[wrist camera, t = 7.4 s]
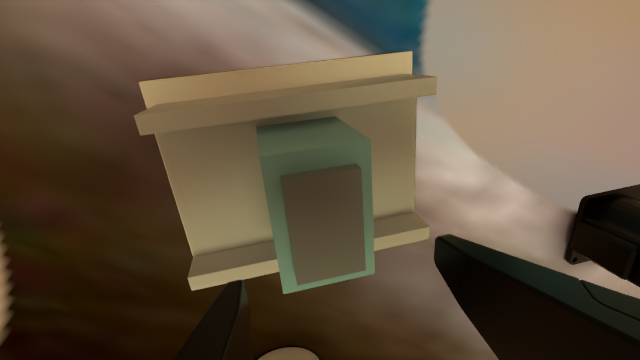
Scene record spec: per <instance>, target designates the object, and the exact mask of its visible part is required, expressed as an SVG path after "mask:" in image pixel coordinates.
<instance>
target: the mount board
mask: <svg viewBox="0 0 640 360" xmlns="http://www.w3.org/2000/svg"><path fill="white" fill-rule="evenodd" d="M436 80H437V77H434V76H424V75H414V74H412V51H407V52H396V53H387V54H379V55H370V56H361V57H352V58H343V59H334V60H325V61H316V62H308V63H299V64H290V65H281V66H272V67H263V68H254V69H245V70H237V71H228V72H219V73H210V74H201V75H192V76H183V77H174V78H166V79H157V80H148V81H142V82H139V86H140V89H141V92H142V95H143V98H144V102H145V105H146V108H147V109H146V110H144V111H142V112H140V113H138V114H136V115H134V118H135V121H136V124H137V127H138V130H139V133H140V136H141V135H148V134H155V137H156V140H157V143H158V146H159V149H160V153H161V156H162V159H163V162H164V165H165V169H166V172H167V175H168V178H169V181H170V185H171V188H172V191H173V194H174V197H175V200H176V204H177V207H178V210H179V213H180V216H181V220H182V223H183V226H184V229H185V232H186V236H187V239H188V242H189V245H190V248H191V252H192V255H193V261H192V264H191V268H190V271H189V275H188V281H189V284H190V287H191V290H192V291H193V290H198V289H202V288H207V287H211V286H216V285H221V284H225V283H228V282H231V281H235V280H240V279H241V280H243V279H248V278H253V277H257V276H262V275H266V274H271V273H275V272H279V266H278V261H277V255H276V249H275V244H274V238H273V233H272V227H271V221H270V216H269V210H268V204H267V199H266V193H265V188H264V182H263V176H262V171H261V165H260V160H259V152H258V142H257V132H256V127H259V126H267V125H274V124H281V123H289V122H296V121H303V120H311V119H318V118H325V117H333V116H336V117H337V118H339V119H340V120H342V121H343V122H345V123H346V124H348V125H349V126H351V127H352V128H354V129H355V130H357V131H358V132H360V133H361V134H363V135H364V136H366V137H367V138H369V139H370V140H371V161H372V195H373V228H374V251H376V250H381V249H385V248H390V247H394V246H399V245H403V244H408V243H413V242H417V241H422V240H426V239H429V236H430V226H429V225H428V224H426V223H425V222H424V221H423V220H422V219H421V218H420V217H419V216H418V215H417V214H416V213H415V212H414V196H415V151H416V105H417V97H422V96H429V95H436Z"/></svg>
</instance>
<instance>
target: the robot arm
mask: <svg viewBox="0 0 640 360" xmlns="http://www.w3.org/2000/svg"><path fill="white" fill-rule="evenodd" d="M590 260H591V261H593V262H594V263H596V264H598V265H599V266H601V267H603V268H604V269H606V270H608V271H609V272H611V273H613V274H615V275H616V276H618V277H620V278H621V279H624V280H628V281H630V282H631V283H633V284H635V285H636V286H638V287H640V184H639V185H634V186H630V187H625V188H621V189H616V190H611V191H606V192H602V193H597V194H592V195H588V196H585V197H583V198H582V199H581V202H580V205H579V208H578V212H577V216H576V220H575V224H574V228H573V232H572V236H571V240H570V244H569V248H568V252H567V255H566V261H567V262H568V263H570V264H572V265H574V264H578V263H582V262H586V261H590ZM434 261H435V264H436V267H437V268H438V270H439V272H440V273H441V275H442V277H443V278H444V280H445V282H446V284H447V285H448V287H449V289H450V290H451V292H452V294H453V295H454V297H455V299H456V300H457V302H458V304H459V305H460V307H461V308H462V310H463V311H464V313H465V314H466V315H467V317H468V318H469V320H470V321H471V322H472V324H473V325H474V326H475V328H476V329H477V330H478V332H479V333H480V334H481V336H482V337H483V339H484V340H485V341H486V343H487V344H488V345H489V347H490V348H491V349H492V351H493V352H494V353H495V355H496V356H497V358H498V359H499V360H640V299H638V298H635V297H632V296H629V295H625V294H622V293H619V292H616V291H613V290H610V289H607V288H604V287H601V286H598V285H595V284H593V283H590V282H587V281H584V280H579V279H578V278H575V277H572V276H569V275H566V274H564V273H561V272H558V271H555V270H552V269H549V268H546V267H543V266H540V265H537V264H535V263H532V262H529V261H526V260H523V259H520V258H517V257H514V256H511V255H508V254H506V253H503V252H500V251H497V250H494V249H491V248H488V247H485V246H482V245H480V244H477V243H474V242H471V241H468V240H465V239H462V238H459V237H456V236H454V235H451V234H446V235H441V236H438V237H436V239H435V251H434ZM174 360H253V350H252V336H251V321H250V308H249V302H248V297H247V293H246V289H245V285H244V282H243V280H241V279H240V280H235V281H231V282H228V283H227V284H226V285H225V287H224V288H223V290H222V291H221V293H220V294H219V295H218V297H217V298H216V300H215V301H214V303H213V304H212V305H211V307H210V308H209V310H208V311H207V313H206V314H205V315H204V317H203V318H202V320H201V321H200V323H199V324H198V326H197V327H196V328H195V330H194V331H193V333H192V334H191V336H190V337H189V338H188V340H187V341H186V343H185V344H184V346H183V347H182V349H181V350H180V351H179V353H178V354H177V356H176V357H175V359H174Z"/></svg>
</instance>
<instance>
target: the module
mask: <svg viewBox="0 0 640 360" xmlns="http://www.w3.org/2000/svg"><path fill="white" fill-rule="evenodd" d="M256 132H257V142H258V152H259V160H260V165H261V171H262V176H263V182H264V188H265V193H266V199H267V204H268V210H269V216H270V221H271V227H272V233H273V238H274V244H275V249H276V255H277V261H278V266H279V272H280V278H281V283H282V289H283V294H287V293H291V292H296V291H300V290H305V289H309V288H313V287H318V286H322V285H327V284H331V283H336V282H340V281H344V280H349V279H353V278H358V277H362V276H367V275H371V274H375V262H374V228H373V195H372V161H371V140H370V139H369V138H367V137H366V136H364V135H363V134H361V133H360V132H358V131H357V130H355V129H354V128H352V127H351V126H349V125H348V124H346V123H345V122H343V121H342V120H340V119H339V118H337V117H336V116H333V117H325V118H318V119H311V120H303V121H296V122H289V123H281V124H274V125H267V126H259V127H256Z"/></svg>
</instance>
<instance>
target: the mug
mask: <svg viewBox="0 0 640 360" xmlns="http://www.w3.org/2000/svg"><path fill="white" fill-rule="evenodd" d="M258 360H319V358H318V357H317V356H316V355H315V354H314V353H312V352H311V351H309V350H307V349H303V348H298V347H286V348H280V349H277V350H274V351H271V352H269V353H267V354H265V355H263V356H262V357H260V358H259V359H258Z"/></svg>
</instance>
